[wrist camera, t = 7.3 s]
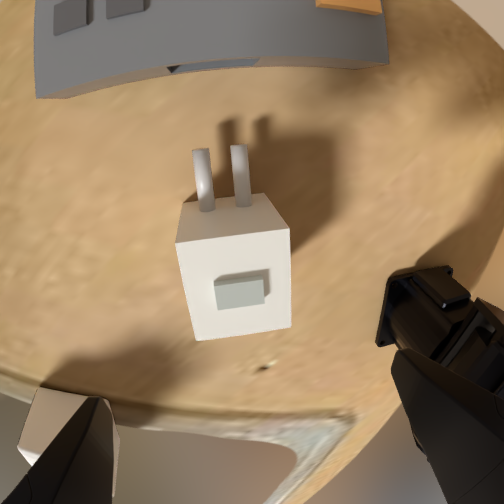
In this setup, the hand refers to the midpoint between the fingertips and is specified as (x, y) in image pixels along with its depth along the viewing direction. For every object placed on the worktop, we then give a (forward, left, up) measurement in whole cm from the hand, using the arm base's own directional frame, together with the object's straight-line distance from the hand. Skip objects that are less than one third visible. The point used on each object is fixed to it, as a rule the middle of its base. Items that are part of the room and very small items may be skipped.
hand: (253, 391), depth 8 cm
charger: (+1, 0, -11) cm, 11 cm away
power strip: (+12, 0, -11) cm, 17 cm away
